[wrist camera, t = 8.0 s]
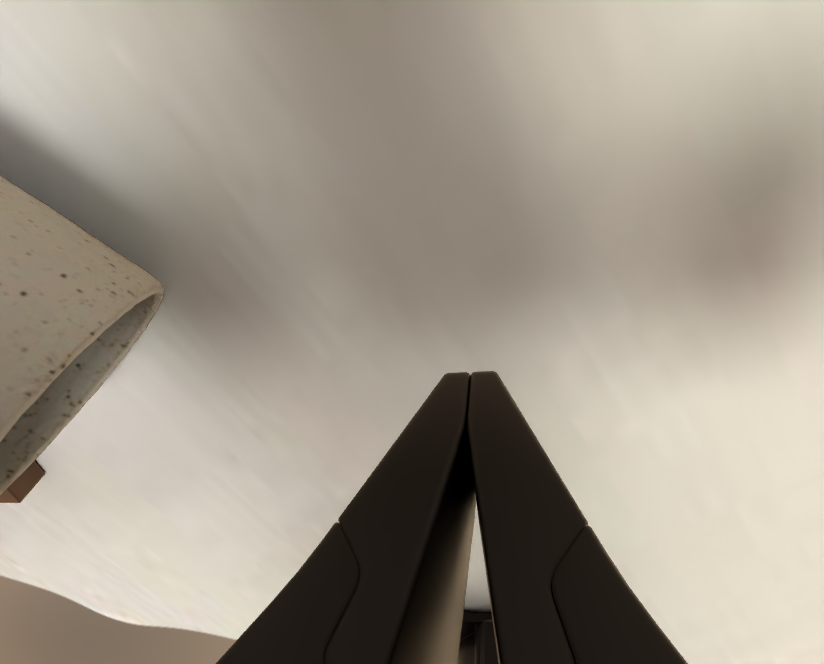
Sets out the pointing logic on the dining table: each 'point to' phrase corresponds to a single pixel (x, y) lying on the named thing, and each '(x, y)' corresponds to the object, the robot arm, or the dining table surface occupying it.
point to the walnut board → (22, 484)
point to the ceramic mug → (58, 323)
